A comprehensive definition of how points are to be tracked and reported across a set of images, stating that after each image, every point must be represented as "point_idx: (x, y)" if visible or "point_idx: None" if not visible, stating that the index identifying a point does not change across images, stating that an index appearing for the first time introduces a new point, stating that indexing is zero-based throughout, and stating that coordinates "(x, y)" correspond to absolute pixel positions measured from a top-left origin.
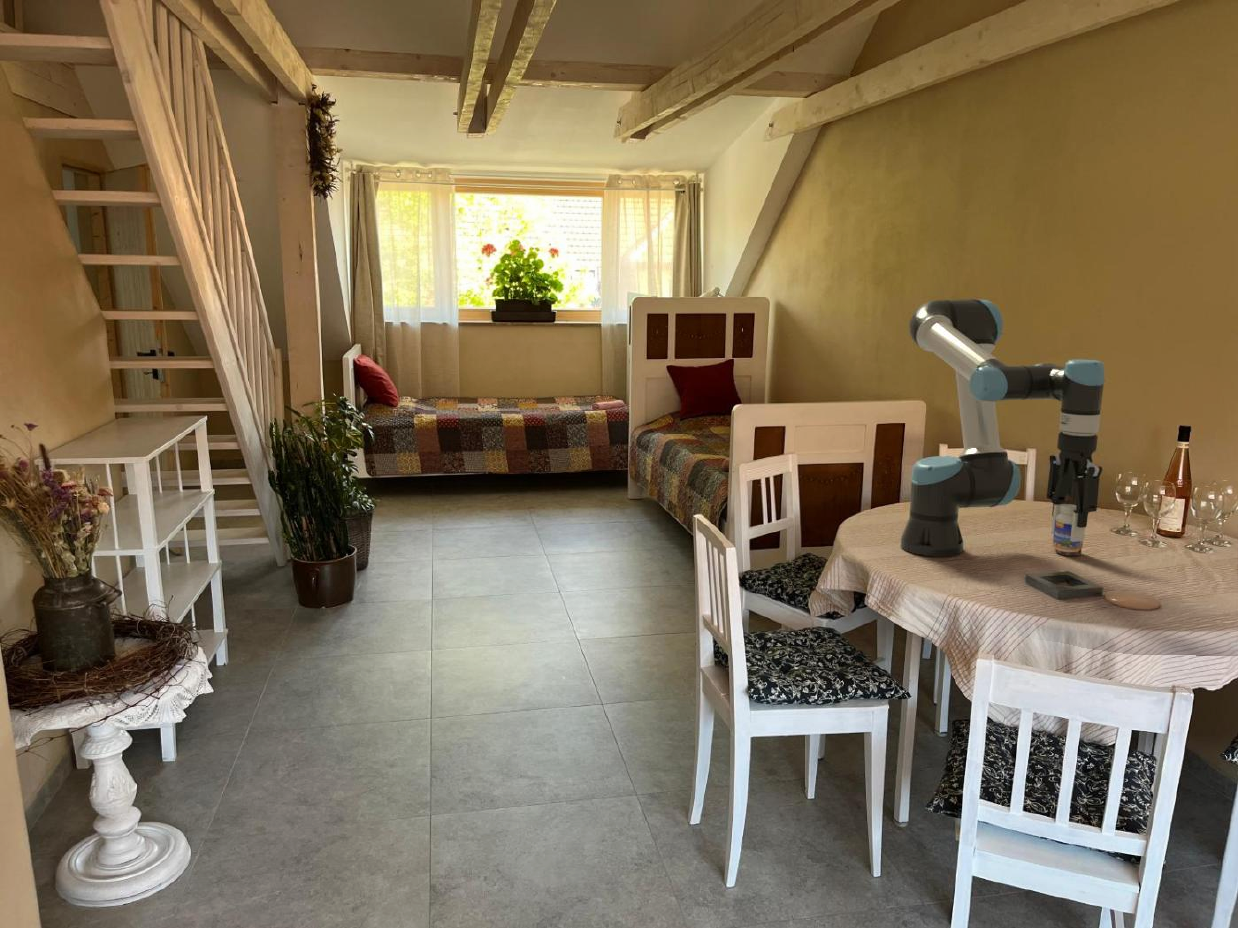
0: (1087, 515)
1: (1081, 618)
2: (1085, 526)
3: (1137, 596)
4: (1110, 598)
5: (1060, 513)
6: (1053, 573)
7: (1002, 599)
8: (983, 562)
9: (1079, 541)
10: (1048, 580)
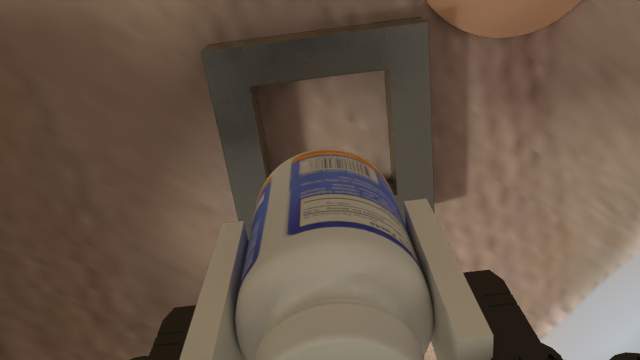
0: (538, 340)
1: (598, 221)
2: (496, 280)
3: None
4: (487, 26)
5: (236, 356)
6: (235, 136)
7: None
8: (5, 258)
9: (393, 200)
10: (267, 162)
